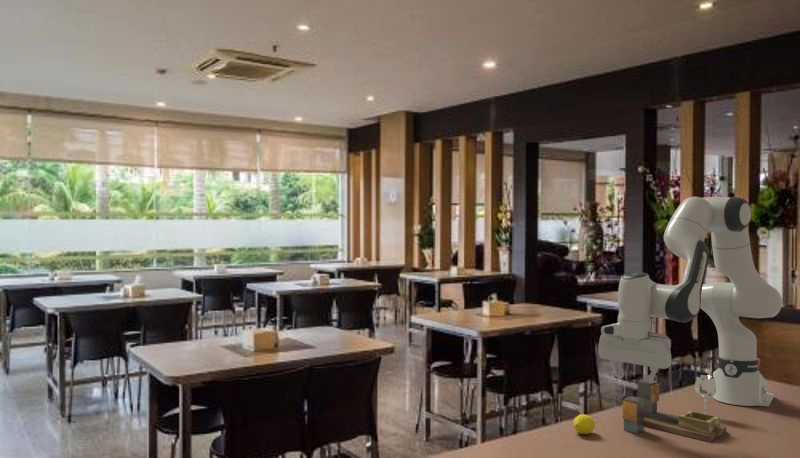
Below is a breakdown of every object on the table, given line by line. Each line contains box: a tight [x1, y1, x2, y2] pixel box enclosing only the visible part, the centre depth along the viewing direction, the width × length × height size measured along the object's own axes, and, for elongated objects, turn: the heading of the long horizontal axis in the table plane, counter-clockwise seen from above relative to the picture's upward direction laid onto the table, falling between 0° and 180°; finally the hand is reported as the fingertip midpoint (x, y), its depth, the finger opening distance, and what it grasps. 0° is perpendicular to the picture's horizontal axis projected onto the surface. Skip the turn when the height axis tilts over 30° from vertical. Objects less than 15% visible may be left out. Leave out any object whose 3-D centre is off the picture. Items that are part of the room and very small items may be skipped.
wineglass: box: [694, 374, 716, 414], centre depth 189 cm, size 6×6×12 cm
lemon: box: [572, 414, 595, 435], centre depth 172 cm, size 7×5×5 cm
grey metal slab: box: [622, 395, 645, 435], centre depth 175 cm, size 5×4×9 cm
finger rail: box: [637, 378, 727, 443], centre depth 179 cm, size 12×24×12 cm, turn 42°
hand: (633, 379), depth 175 cm, fingers open, 8 cm apart
